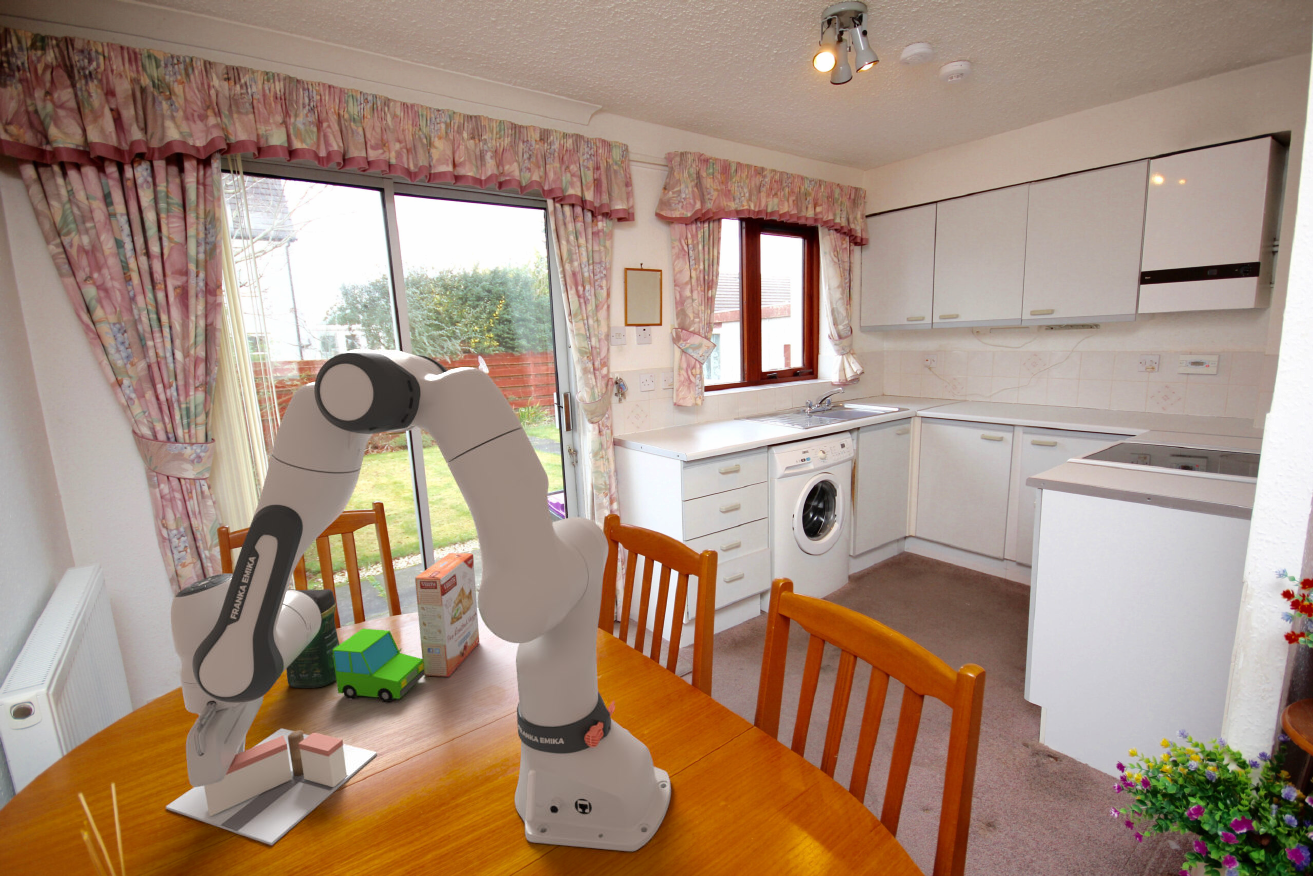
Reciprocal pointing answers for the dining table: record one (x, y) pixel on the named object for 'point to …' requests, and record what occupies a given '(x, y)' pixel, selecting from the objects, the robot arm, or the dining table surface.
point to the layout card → (270, 800)
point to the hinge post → (296, 752)
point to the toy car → (374, 666)
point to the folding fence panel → (250, 775)
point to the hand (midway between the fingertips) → (236, 769)
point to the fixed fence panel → (323, 759)
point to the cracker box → (447, 613)
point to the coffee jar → (317, 648)
